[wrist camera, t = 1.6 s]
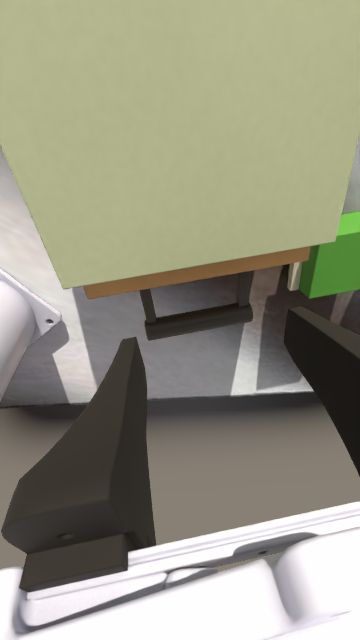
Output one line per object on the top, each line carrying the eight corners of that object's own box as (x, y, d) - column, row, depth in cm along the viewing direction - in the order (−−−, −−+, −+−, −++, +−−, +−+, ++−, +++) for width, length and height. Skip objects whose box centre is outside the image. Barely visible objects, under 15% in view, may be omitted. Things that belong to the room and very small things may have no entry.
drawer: (259, 287, 22) (295, 333, 17) (118, 313, 21) (114, 368, 16) (281, -72, 11) (392, -221, 6) (7, -39, 11) (-94, -173, 6)
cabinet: (267, 203, 19) (335, 242, 12) (87, 233, 18) (63, 289, 12) (292, -157, 11) (519, -561, 4) (-30, -122, 10) (-294, -526, 4)
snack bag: (370, 209, 20) (409, 222, 17) (354, 265, 23) (385, 285, 20) (284, 223, 20) (309, 239, 17) (278, 279, 22) (299, 301, 20)
